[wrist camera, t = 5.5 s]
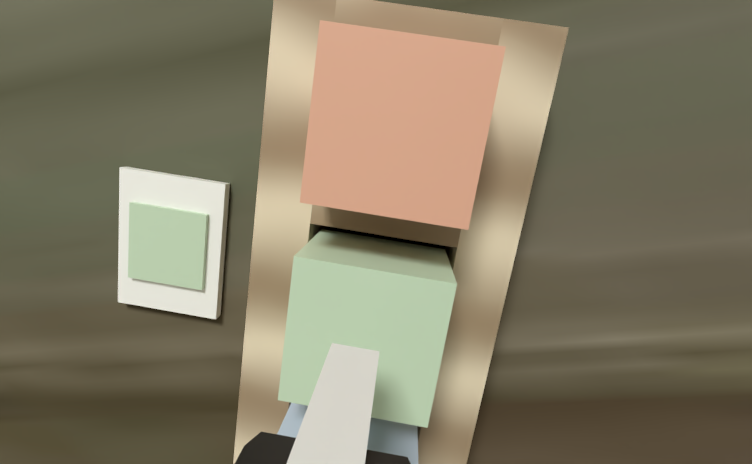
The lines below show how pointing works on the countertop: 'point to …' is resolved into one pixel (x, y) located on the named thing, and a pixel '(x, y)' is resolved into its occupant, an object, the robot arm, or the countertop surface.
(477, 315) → the key panel
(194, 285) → the card
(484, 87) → the terracotta key
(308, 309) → the sage key
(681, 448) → the countertop surface
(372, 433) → the slate key
